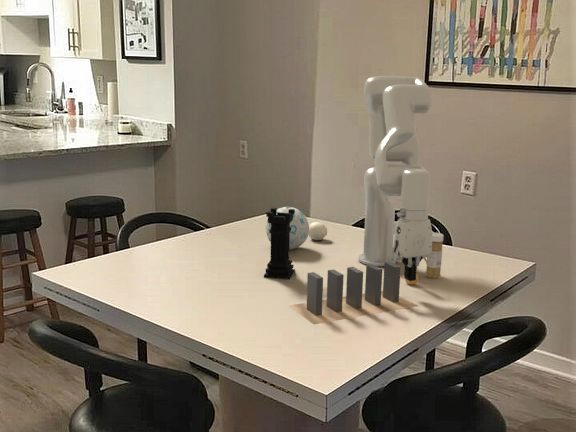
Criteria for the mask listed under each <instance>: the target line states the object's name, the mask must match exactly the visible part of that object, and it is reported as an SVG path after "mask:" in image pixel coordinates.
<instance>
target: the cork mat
mask: <svg viewBox="0 0 576 432" xmlns="http://www.w3.org/2000/svg"><path fill="white" fill-rule="evenodd" d="M288 307H289V308H291V309H292V310H293V311H295V312H296V313H297V314H299V315H300V316H302V317H303V318H305V320H307V321H308V322H310V323H311V324H313V325H317V324H322V323H323V324H324V323H329V322H334V321H341V320H345V319H351V318H357V317H362V316H368V315H374V314H380V313H381V314H382V313H385V312H391V311H397V310H402V309H408V308H409V309H410V308H414V307H419V305H418V304H416V303H414V302H413V301H412V302H411V301H410V300H408V299H406V298H405V297H402V296H401V295H399V302H395V303H393V302H391V301H389V300H387V299H385V298H384V297H383V290H381V305H378V306H374V305H372V304H371V303H369V302H367V301H366V300H365V292H364V293H362V308H360V309H355V308H353V307H351V306H350V305H348V304H347V303H346V295H345V296H343V301H342V312H335V311H333V310H331V309H330V308H328V307H327V298H326V299H322V315H319V316H315V315H314V314H312V313H311V312H309V311H308V310H307V302H302V303H295V304H290V305H288Z"/></svg>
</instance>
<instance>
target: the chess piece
mask: <svg viewBox="0 0 576 432" xmlns="http://www.w3.org/2000/svg"><path fill="white" fill-rule="evenodd" d="M277 209H278V208H277V207H270V211H266V212H265V215H266V217H267V220H268V223H271V229H270V230H269V233H271V242H270V259H269V262H267V266H266V268H265V272H264V274H263V278H265V279H268V278H269V279H277V280H278V279H279V280H288V281H289V280H291V278H292V277H293V276H294V273H295V272H296V270H295V269H294V264H293V260H292V259H290V250H289V242H290V231H291V227H290V223H291V221H292V220H293V214H294V213H295V209H289V213H281V212H278V213H277ZM276 213H277V215H276Z"/></svg>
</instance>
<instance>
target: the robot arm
mask: <svg viewBox="0 0 576 432" xmlns="http://www.w3.org/2000/svg"><path fill="white" fill-rule="evenodd" d="M363 98H364V99H363V100H364V104H365V107H366V112H367V114H368V119H369V121H368V125H369V126H368V152H369V157H370V159H371V160H373V161H374V166H372V167H370V168H368V169H367V170H366V171H365V173H364V176H363V184H364V185H363V186H364V194H365V215H364V216H365V217H364V234H363V235H364V236H363V252H362V254H360V255H358V259H357V260H358V261H359V262H360V263H361V264H364V265H370V264H373V265H375V266H377V267H384V263H385V262H392V263H394V264H396V265H397V262H398V261H400V263H402V265H403V266H404V268H403V269H404V270H403V271H404V272H403V278H404V280H405V279H407V280H409V281H415V280H416V274H417V270H418V267H419V266H420V262H422V260H424V258H425V259H427V257H428V255H429V254H430V253H431V250H432V233H433V232H432V231H433V230H432V229H433V228H432V224H431V219H429V208H430V207H429V205H430V204H429V203H430V190H431V173H430V171H429V170H427V169H426V168H425V167H424V166H423V165H420V143H419V142H420V141H419V139H418V137H417V136H416V135H417V125H416V118H415V117H416V116H415V115H416V114H420V115H421V114H427V113H429V112H430V110H431V109H432V107H433V94H432V91H431V89H430V87H429V86H428V85H427V83H426V82H424V81H423V80H422V79H421V78H419V77H417V76H409V75H408V76H407V75H403V76H402V75H399V76H397V75H376V76H371V77H369V78H368V79H366V80H365V83H364V87H363ZM388 163H402V164H388ZM388 197H400V205H399V206H400V207H399V211H397V213H396V212H395V210H396V209H395V206H394V205H393V203H392V202H391V201H390V200H389V198H388ZM395 215H396V217H398V219H397V222H396V225H395V218H396V217H395ZM401 256H402V257H401Z"/></svg>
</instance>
